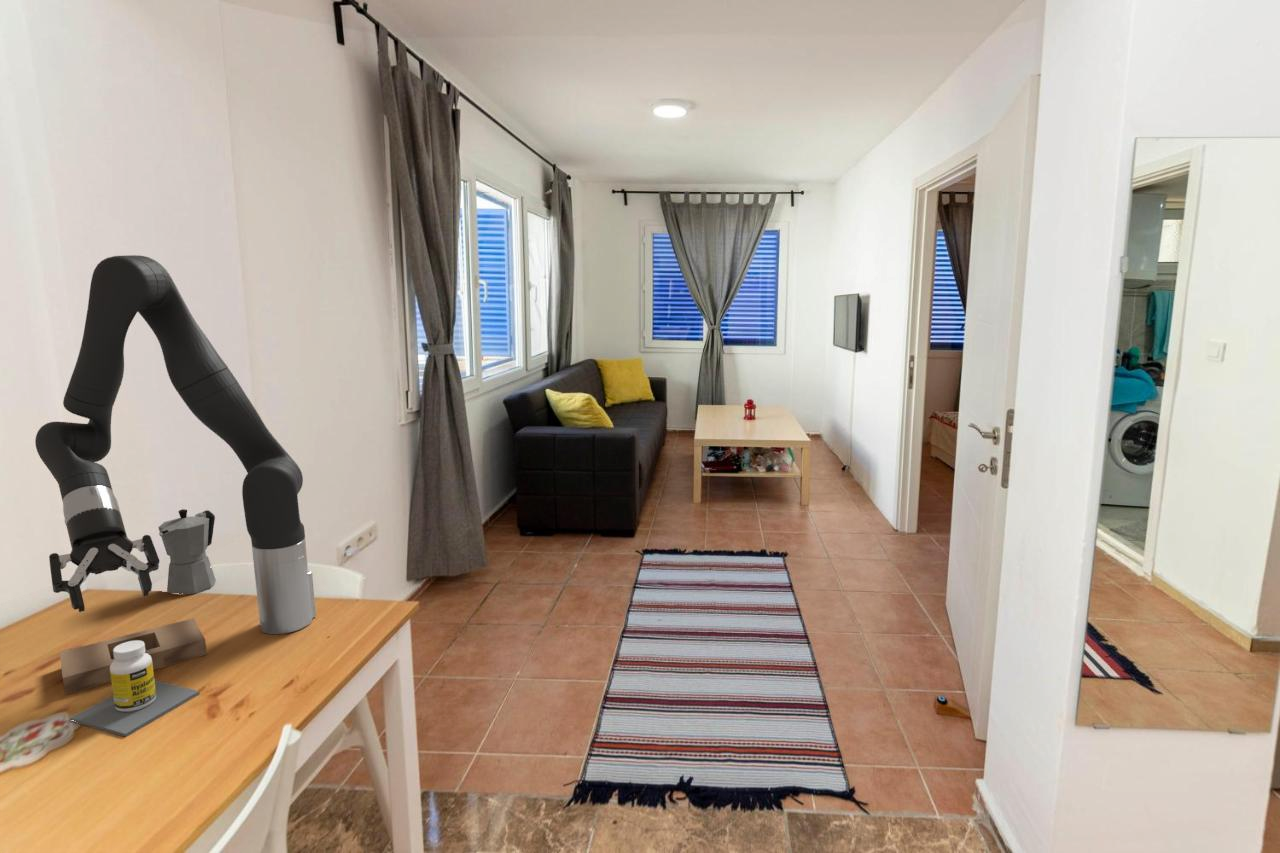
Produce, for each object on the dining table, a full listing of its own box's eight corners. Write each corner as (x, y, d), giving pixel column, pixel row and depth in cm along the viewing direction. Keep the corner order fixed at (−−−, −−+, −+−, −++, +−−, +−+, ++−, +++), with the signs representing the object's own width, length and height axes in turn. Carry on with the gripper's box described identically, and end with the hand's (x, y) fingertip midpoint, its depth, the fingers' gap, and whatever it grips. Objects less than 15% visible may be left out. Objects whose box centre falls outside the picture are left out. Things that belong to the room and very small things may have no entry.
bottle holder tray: (65, 694, 114) (62, 678, 114) (62, 668, 122) (59, 652, 122) (206, 654, 127) (205, 639, 127) (195, 632, 135) (193, 618, 135)
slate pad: (146, 680, 118) (146, 677, 118) (199, 693, 115) (199, 691, 115) (69, 720, 107) (69, 717, 107) (125, 736, 104) (125, 733, 103)
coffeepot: (189, 601, 149) (179, 520, 146) (149, 598, 150) (138, 518, 147) (238, 572, 164) (230, 498, 161) (200, 570, 165) (192, 497, 162)
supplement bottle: (135, 715, 108) (126, 656, 106) (106, 710, 109) (97, 652, 107) (165, 695, 113) (157, 639, 111) (137, 691, 114) (129, 636, 112)
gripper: (38, 516, 113) (58, 604, 107) (144, 498, 123) (167, 578, 117) (40, 539, 118) (59, 625, 112) (142, 520, 128) (164, 598, 122)
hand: (114, 601), depth 115 cm, fingers open, 8 cm apart
